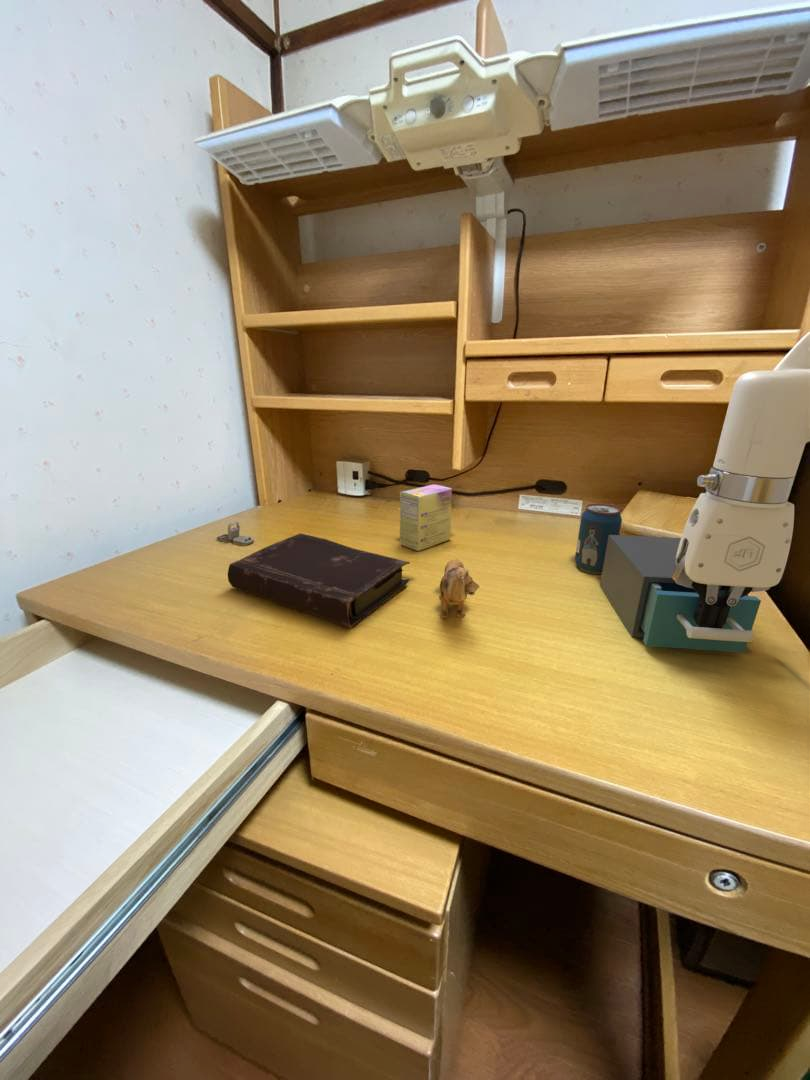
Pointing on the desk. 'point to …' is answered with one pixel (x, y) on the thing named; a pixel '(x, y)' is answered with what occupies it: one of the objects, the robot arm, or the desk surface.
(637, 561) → the drawer cabinet casing
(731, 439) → the robot arm
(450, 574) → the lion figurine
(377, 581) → the diary
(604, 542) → the soda can
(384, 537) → the desk surface
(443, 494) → the box
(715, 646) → the teal drawer
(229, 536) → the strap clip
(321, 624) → the desk surface
